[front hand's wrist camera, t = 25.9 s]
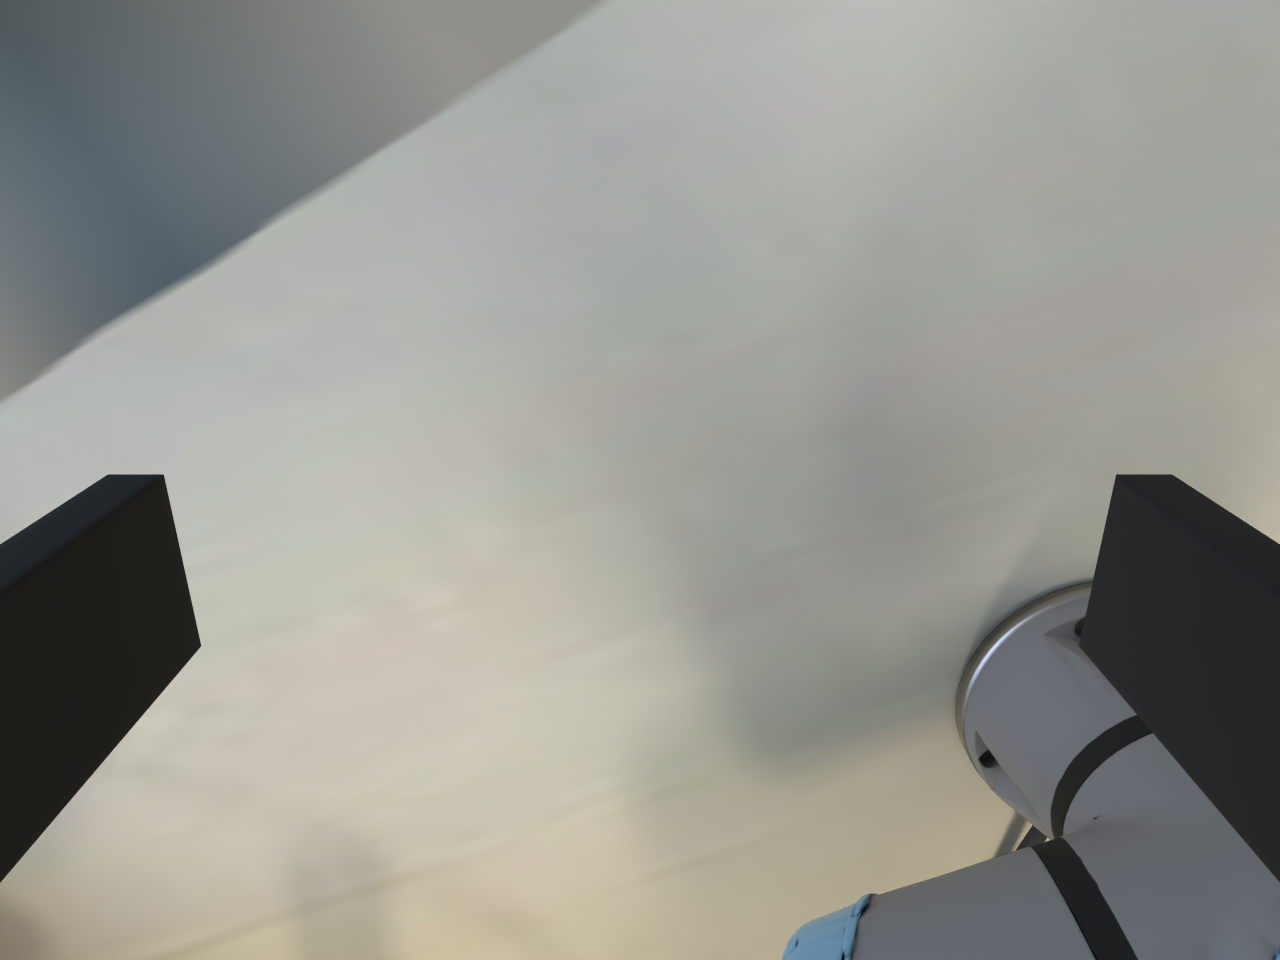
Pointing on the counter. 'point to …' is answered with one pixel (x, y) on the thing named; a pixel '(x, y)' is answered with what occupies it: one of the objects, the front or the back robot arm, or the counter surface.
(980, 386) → the counter surface
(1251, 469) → the counter surface
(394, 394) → the counter surface
